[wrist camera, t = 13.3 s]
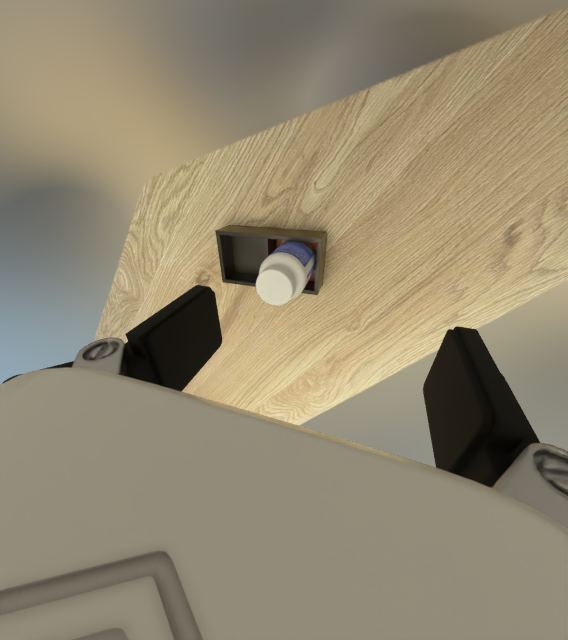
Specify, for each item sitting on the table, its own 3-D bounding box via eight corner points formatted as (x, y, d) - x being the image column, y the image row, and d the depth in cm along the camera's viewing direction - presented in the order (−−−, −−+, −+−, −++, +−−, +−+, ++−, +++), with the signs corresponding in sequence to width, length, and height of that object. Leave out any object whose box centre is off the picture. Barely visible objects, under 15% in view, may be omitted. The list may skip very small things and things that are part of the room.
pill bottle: (273, 242, 33) (240, 268, 25) (312, 232, 31) (289, 256, 23) (285, 281, 35) (258, 315, 28) (322, 273, 33) (305, 308, 25)
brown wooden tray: (229, 224, 35) (215, 230, 32) (327, 231, 31) (321, 238, 28) (234, 273, 38) (222, 282, 35) (322, 284, 35) (317, 295, 32)
